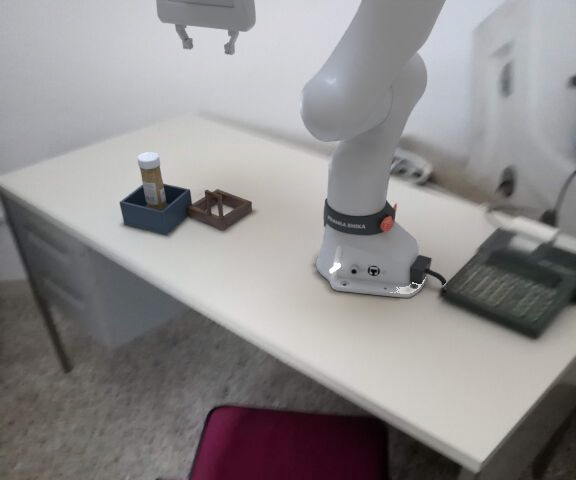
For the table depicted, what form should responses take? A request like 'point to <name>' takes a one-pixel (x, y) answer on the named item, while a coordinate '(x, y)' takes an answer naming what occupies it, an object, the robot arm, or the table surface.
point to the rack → (219, 209)
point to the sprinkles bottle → (152, 180)
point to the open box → (153, 219)
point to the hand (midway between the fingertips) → (208, 51)
